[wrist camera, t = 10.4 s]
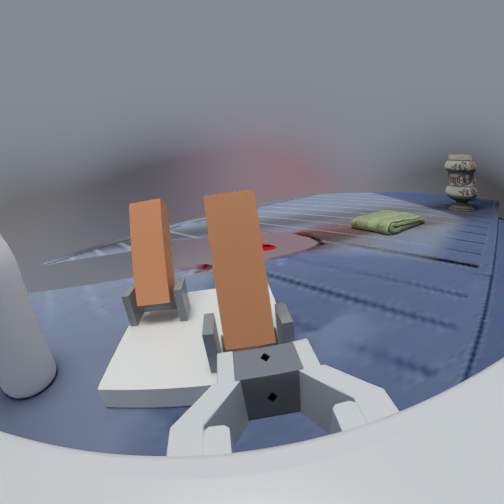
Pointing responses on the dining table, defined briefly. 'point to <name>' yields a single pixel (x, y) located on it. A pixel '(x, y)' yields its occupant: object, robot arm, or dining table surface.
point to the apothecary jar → (461, 181)
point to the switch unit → (173, 350)
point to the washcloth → (386, 222)
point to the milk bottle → (20, 335)
